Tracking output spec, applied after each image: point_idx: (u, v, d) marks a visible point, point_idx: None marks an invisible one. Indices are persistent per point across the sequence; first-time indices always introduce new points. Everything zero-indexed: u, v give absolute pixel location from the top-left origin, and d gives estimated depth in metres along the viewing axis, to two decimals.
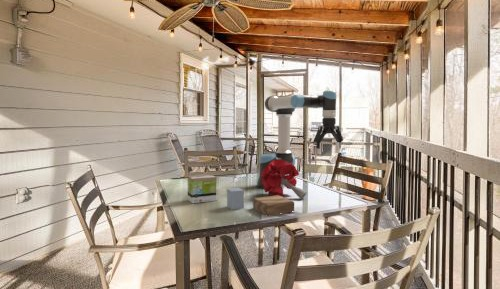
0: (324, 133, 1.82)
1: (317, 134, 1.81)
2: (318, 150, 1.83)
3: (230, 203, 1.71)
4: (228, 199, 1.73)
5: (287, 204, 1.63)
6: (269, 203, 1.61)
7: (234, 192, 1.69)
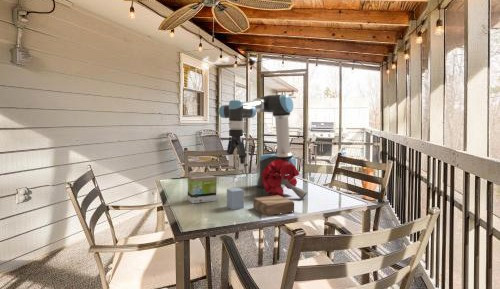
0: (230, 145, 1.74)
1: None
2: None
3: (230, 203, 1.71)
4: (228, 199, 1.73)
5: (287, 204, 1.62)
6: (269, 203, 1.61)
7: (234, 192, 1.69)
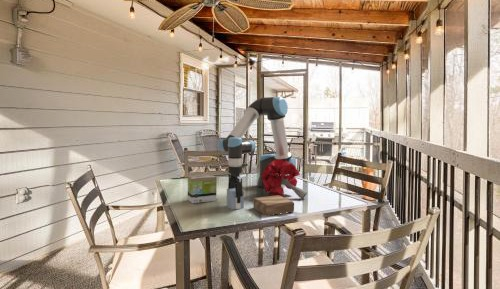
0: (230, 182, 1.75)
1: None
2: None
3: (230, 203, 1.71)
4: (228, 199, 1.73)
5: (287, 204, 1.62)
6: (268, 203, 1.61)
7: (234, 192, 1.69)
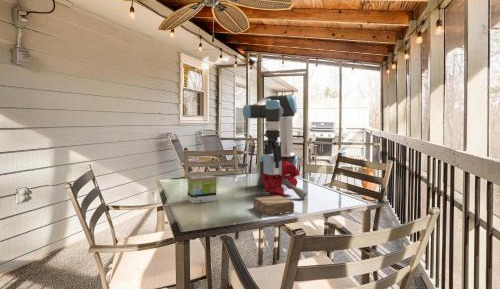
0: (267, 148, 1.68)
1: None
2: None
3: (268, 168, 1.64)
4: (265, 165, 1.66)
5: (286, 204, 1.62)
6: (268, 203, 1.61)
7: (272, 157, 1.62)
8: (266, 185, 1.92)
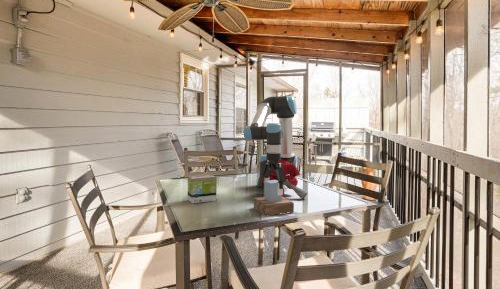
0: (267, 168, 1.70)
1: None
2: None
3: (268, 195, 1.65)
4: (266, 192, 1.67)
5: (286, 205, 1.62)
6: (268, 203, 1.61)
7: (273, 184, 1.63)
8: None
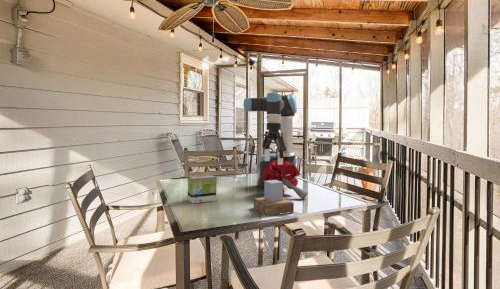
0: (267, 139, 1.68)
1: None
2: None
3: (269, 195, 1.65)
4: (266, 192, 1.67)
5: (286, 205, 1.62)
6: (268, 203, 1.61)
7: (273, 184, 1.63)
8: None
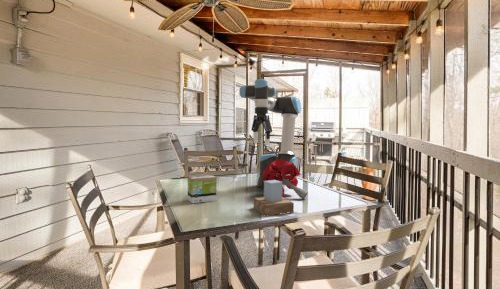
0: (256, 122, 1.84)
1: None
2: None
3: (269, 195, 1.65)
4: (266, 192, 1.67)
5: (286, 205, 1.62)
6: (267, 203, 1.61)
7: (273, 184, 1.63)
8: None
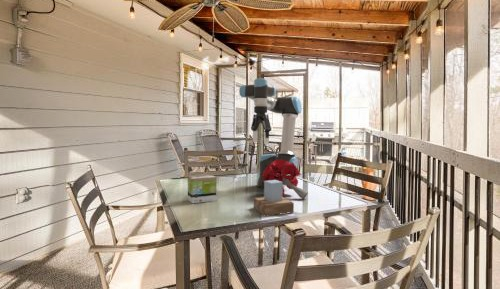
0: (255, 121, 1.84)
1: None
2: None
3: (269, 195, 1.65)
4: (266, 192, 1.67)
5: (286, 205, 1.62)
6: (267, 203, 1.61)
7: (273, 184, 1.63)
8: None
